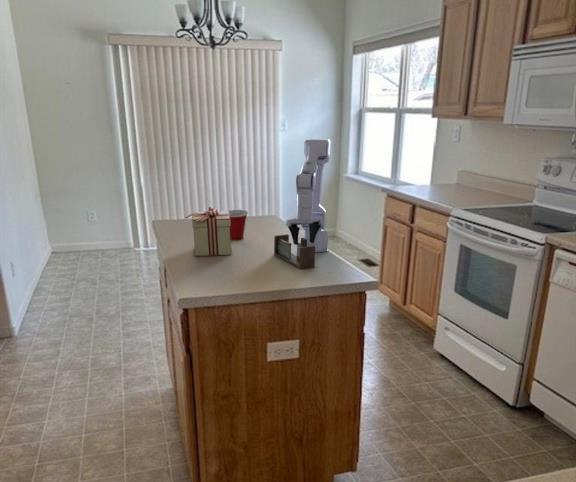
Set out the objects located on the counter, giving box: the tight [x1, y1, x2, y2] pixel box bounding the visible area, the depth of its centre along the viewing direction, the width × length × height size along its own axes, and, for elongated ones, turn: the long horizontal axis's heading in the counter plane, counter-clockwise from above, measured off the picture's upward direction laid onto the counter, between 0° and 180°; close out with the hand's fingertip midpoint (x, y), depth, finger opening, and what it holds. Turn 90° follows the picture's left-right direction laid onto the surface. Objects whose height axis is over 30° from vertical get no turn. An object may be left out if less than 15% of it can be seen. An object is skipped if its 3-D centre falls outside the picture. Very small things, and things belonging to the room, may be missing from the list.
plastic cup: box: [227, 209, 249, 241], centre depth 237 cm, size 11×11×12 cm
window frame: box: [273, 233, 316, 270], centre depth 206 cm, size 6×22×8 cm, turn 28°
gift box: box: [184, 206, 232, 257], centre depth 214 cm, size 17×18×17 cm
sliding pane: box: [296, 237, 307, 259], centre depth 202 cm, size 1×9×9 cm, turn 28°
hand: (303, 243), depth 201 cm, fingers open, 6 cm apart
